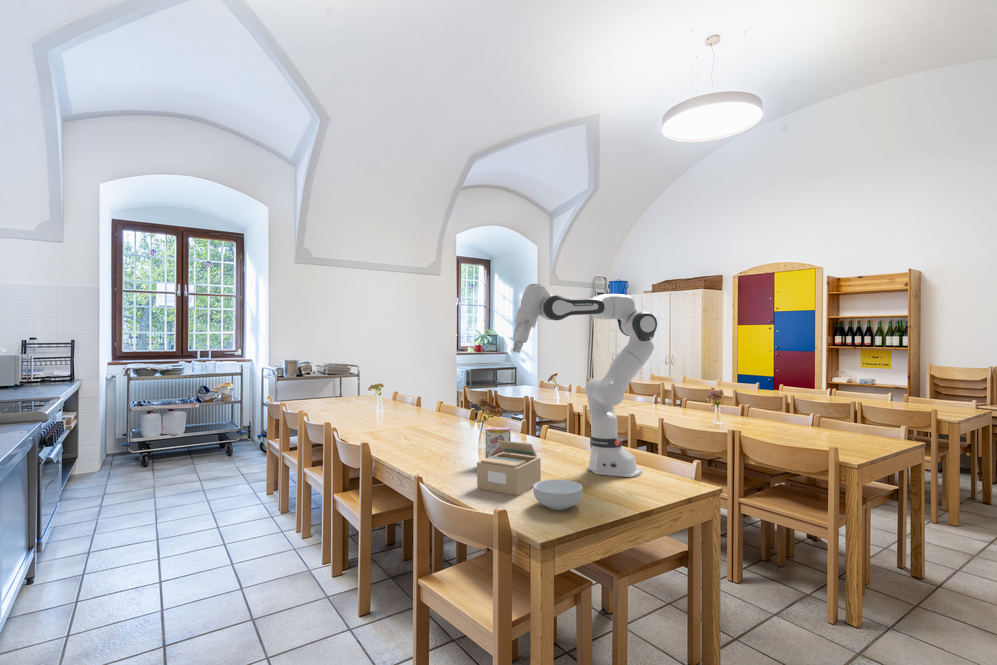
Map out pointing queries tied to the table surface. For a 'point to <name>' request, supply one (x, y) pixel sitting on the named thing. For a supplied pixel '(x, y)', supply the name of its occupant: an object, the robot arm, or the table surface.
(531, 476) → the carton
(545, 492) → the cereal bowl
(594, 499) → the table surface
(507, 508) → the table surface
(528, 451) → the cardboard box flap
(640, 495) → the table surface
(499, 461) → the flap
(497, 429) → the candy bar box
